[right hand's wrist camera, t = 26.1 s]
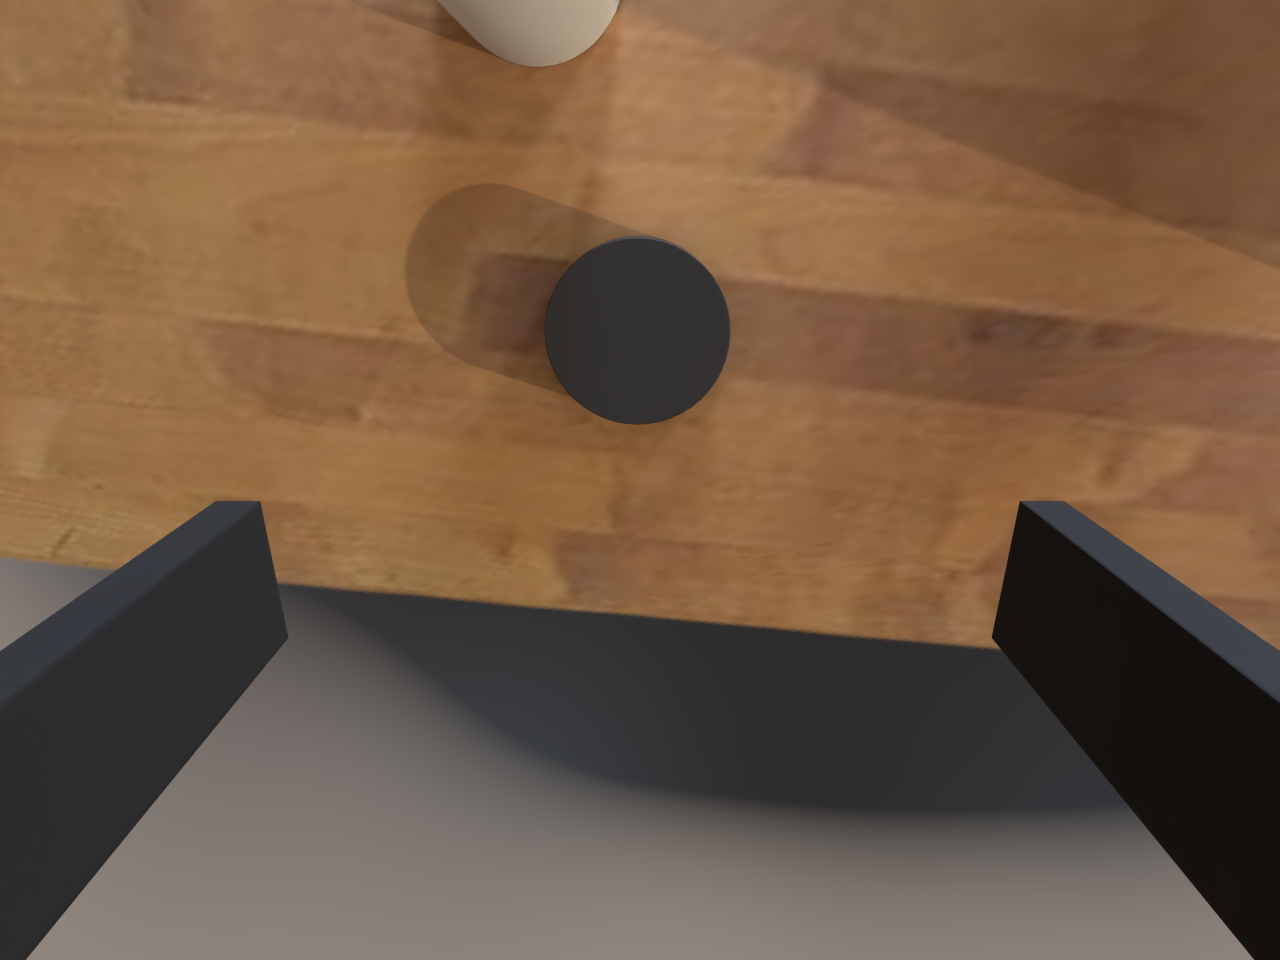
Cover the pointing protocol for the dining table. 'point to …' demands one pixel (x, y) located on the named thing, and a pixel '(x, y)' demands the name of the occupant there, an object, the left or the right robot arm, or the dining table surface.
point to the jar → (534, 27)
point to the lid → (637, 330)
